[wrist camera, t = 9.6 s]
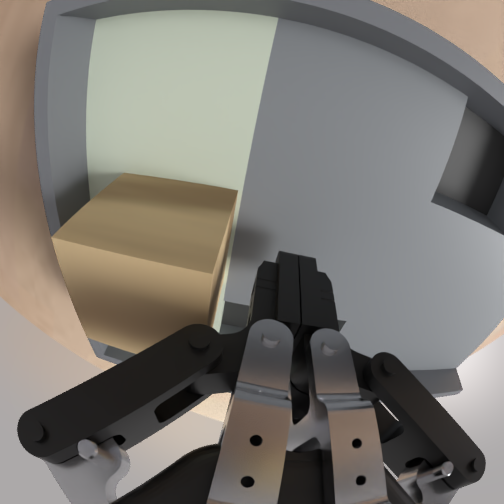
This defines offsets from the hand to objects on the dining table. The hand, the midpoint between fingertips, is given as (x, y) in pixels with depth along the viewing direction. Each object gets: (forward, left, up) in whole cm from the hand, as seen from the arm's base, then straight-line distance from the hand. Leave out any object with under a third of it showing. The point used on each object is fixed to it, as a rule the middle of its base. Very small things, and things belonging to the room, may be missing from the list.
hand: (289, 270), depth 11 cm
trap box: (0, +4, -4) cm, 6 cm away
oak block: (0, -5, -1) cm, 5 cm away
